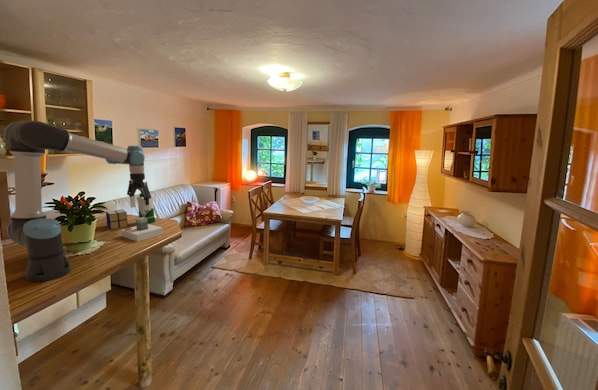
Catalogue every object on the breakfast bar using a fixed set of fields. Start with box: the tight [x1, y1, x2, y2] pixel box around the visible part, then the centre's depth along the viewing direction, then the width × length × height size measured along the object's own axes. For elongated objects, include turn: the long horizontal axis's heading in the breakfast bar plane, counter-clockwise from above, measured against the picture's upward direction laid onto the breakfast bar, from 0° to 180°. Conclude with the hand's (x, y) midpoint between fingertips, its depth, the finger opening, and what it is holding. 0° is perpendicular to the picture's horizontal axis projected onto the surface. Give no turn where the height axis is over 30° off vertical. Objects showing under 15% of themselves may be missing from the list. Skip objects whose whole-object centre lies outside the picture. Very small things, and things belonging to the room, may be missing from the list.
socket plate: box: [120, 223, 164, 243], centre depth 180 cm, size 16×16×5 cm
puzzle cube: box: [105, 208, 129, 230], centre depth 196 cm, size 10×10×10 cm
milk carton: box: [135, 193, 156, 225], centre depth 205 cm, size 9×9×20 cm
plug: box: [135, 217, 148, 231], centre depth 180 cm, size 4×4×10 cm
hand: (139, 208), depth 177 cm, fingers open, 13 cm apart
